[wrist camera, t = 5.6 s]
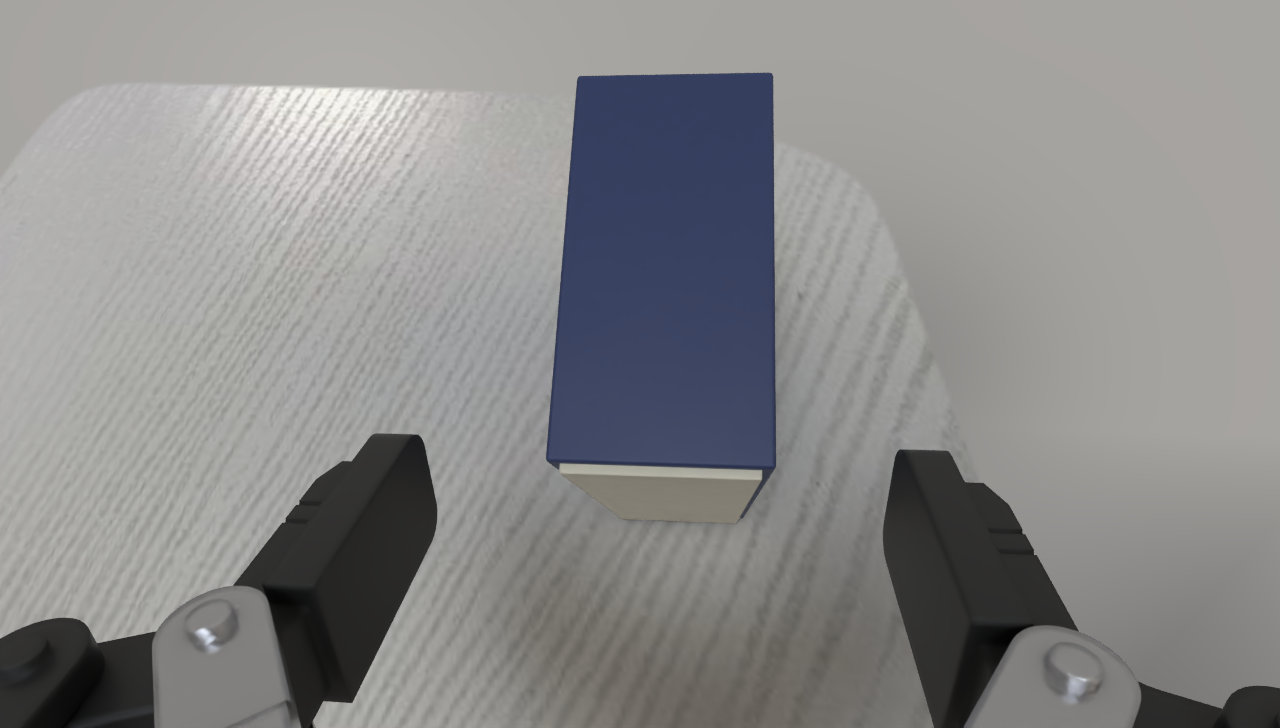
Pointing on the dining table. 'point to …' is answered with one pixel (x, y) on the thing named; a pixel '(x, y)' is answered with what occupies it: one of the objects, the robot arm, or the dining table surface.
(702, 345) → the navy rectangular block
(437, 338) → the dining table surface
